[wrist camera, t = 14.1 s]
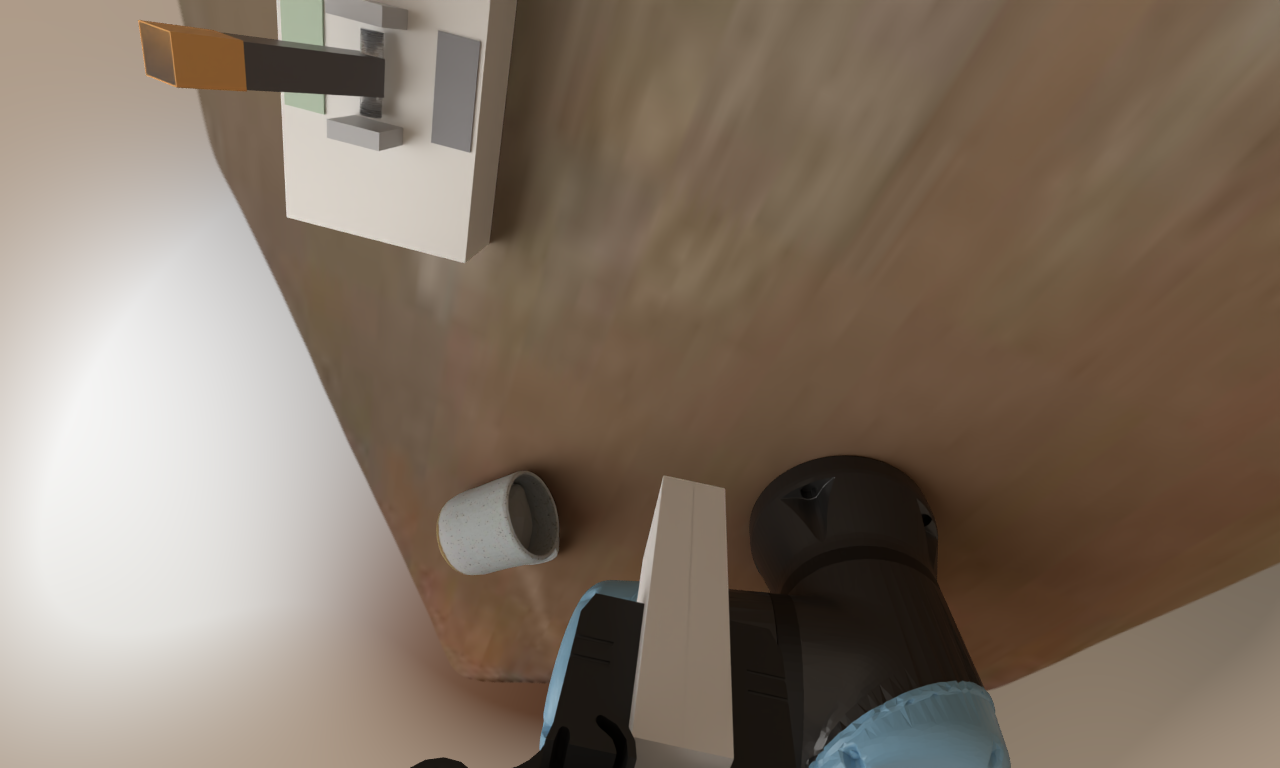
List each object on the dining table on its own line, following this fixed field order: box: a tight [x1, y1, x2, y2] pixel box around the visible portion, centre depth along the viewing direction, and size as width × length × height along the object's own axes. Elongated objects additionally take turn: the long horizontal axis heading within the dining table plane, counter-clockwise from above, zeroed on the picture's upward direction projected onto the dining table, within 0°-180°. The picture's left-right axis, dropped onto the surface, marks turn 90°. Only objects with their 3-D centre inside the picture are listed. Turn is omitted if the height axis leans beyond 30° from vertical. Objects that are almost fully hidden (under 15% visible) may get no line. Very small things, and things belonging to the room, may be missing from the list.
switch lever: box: [138, 20, 385, 118], centre depth 30 cm, size 4×2×12 cm, turn 167°
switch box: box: [277, 0, 517, 263], centre depth 36 cm, size 20×12×8 cm, turn 167°
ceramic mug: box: [436, 471, 559, 575], centre depth 53 cm, size 11×8×8 cm
